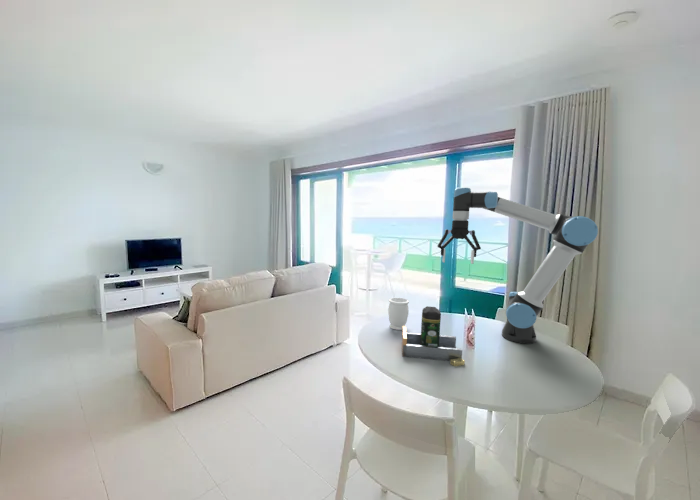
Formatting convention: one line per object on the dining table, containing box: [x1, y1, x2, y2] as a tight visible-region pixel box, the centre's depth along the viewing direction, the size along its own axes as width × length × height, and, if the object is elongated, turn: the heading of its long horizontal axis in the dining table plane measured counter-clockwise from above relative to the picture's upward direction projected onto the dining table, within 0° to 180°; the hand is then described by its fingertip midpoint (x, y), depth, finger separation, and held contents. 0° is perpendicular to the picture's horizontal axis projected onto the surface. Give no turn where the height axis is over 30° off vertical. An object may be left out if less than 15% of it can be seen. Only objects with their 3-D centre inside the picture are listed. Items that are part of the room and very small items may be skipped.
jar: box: [387, 297, 410, 331], centre depth 163 cm, size 11×10×15 cm
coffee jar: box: [420, 306, 442, 347], centre depth 134 cm, size 10×8×19 cm
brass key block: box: [449, 358, 466, 367], centre depth 124 cm, size 5×2×2 cm, turn 109°
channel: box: [401, 325, 463, 362], centre depth 135 cm, size 24×15×8 cm, turn 81°
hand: (457, 262), depth 153 cm, fingers open, 13 cm apart
